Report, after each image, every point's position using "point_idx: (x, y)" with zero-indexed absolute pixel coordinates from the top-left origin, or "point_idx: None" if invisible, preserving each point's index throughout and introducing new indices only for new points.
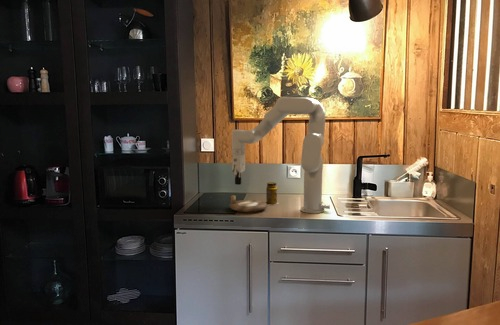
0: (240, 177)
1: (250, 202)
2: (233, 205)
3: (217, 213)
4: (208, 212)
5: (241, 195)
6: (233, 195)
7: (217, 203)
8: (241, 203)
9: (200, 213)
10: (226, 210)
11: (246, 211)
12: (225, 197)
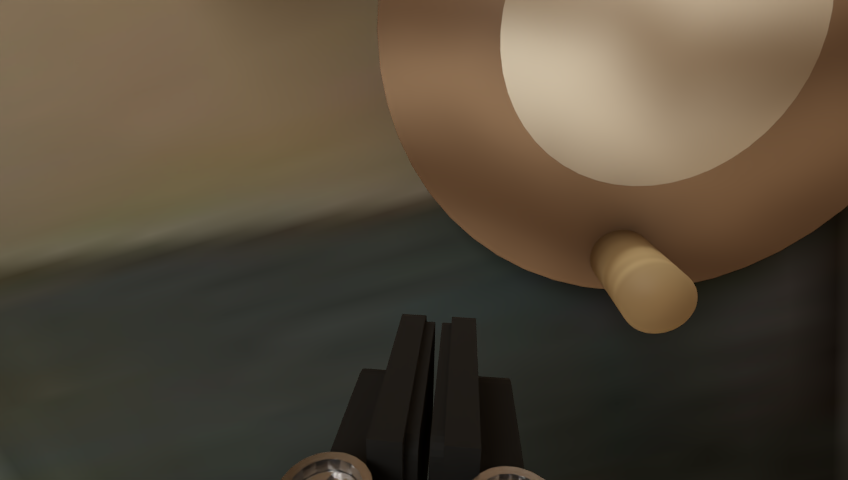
0: (405, 455)
1: (560, 22)
2: (773, 215)
3: (842, 331)
4: (796, 419)
5: (6, 312)
6: (631, 305)
7: None
8: (645, 140)
9: (838, 471)
10: None
11: None
12: (161, 429)
